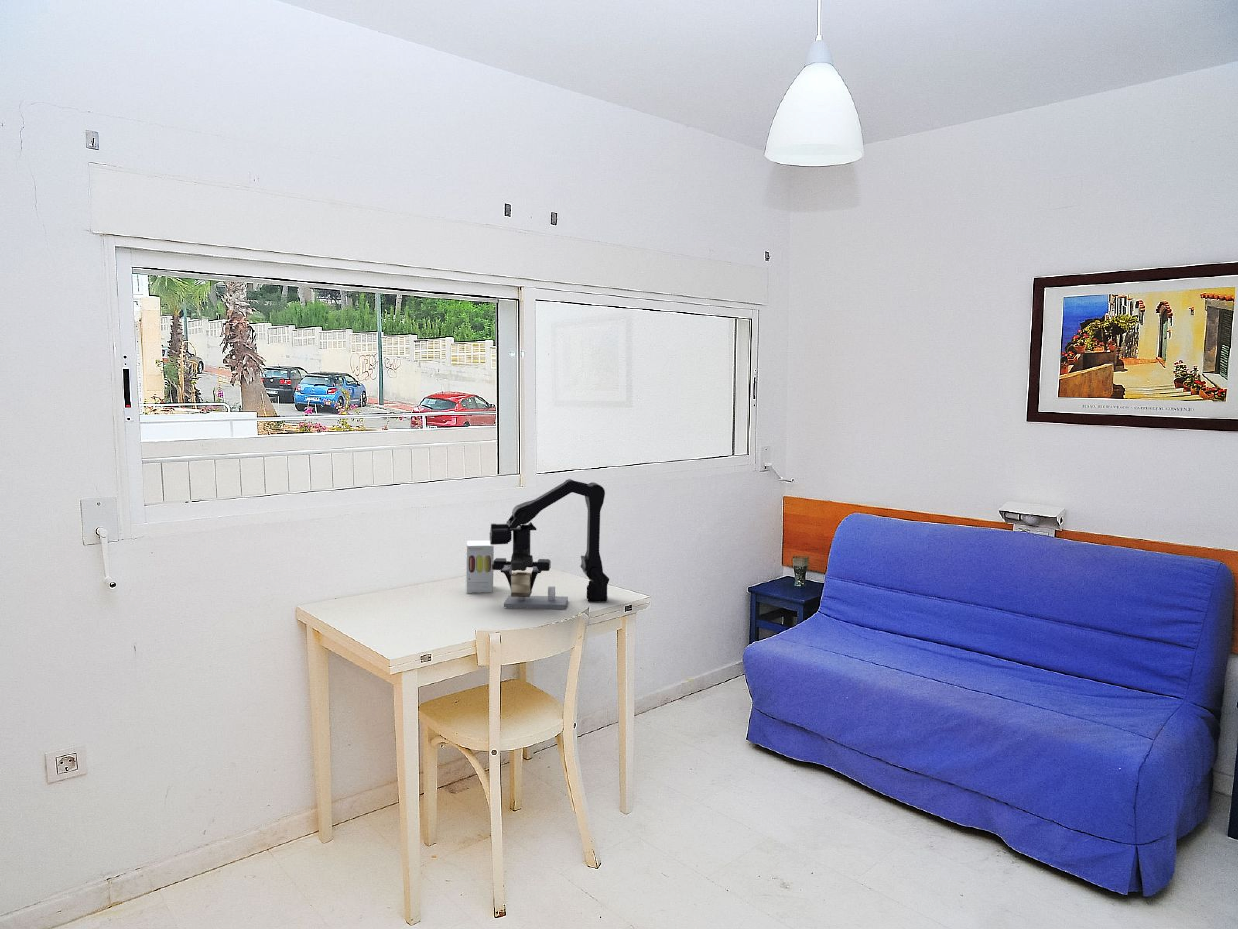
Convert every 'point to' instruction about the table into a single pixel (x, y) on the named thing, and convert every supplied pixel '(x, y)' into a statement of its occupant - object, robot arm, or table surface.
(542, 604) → the pin board
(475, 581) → the supplement box
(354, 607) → the table surface
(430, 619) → the table surface
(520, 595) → the sleeve
